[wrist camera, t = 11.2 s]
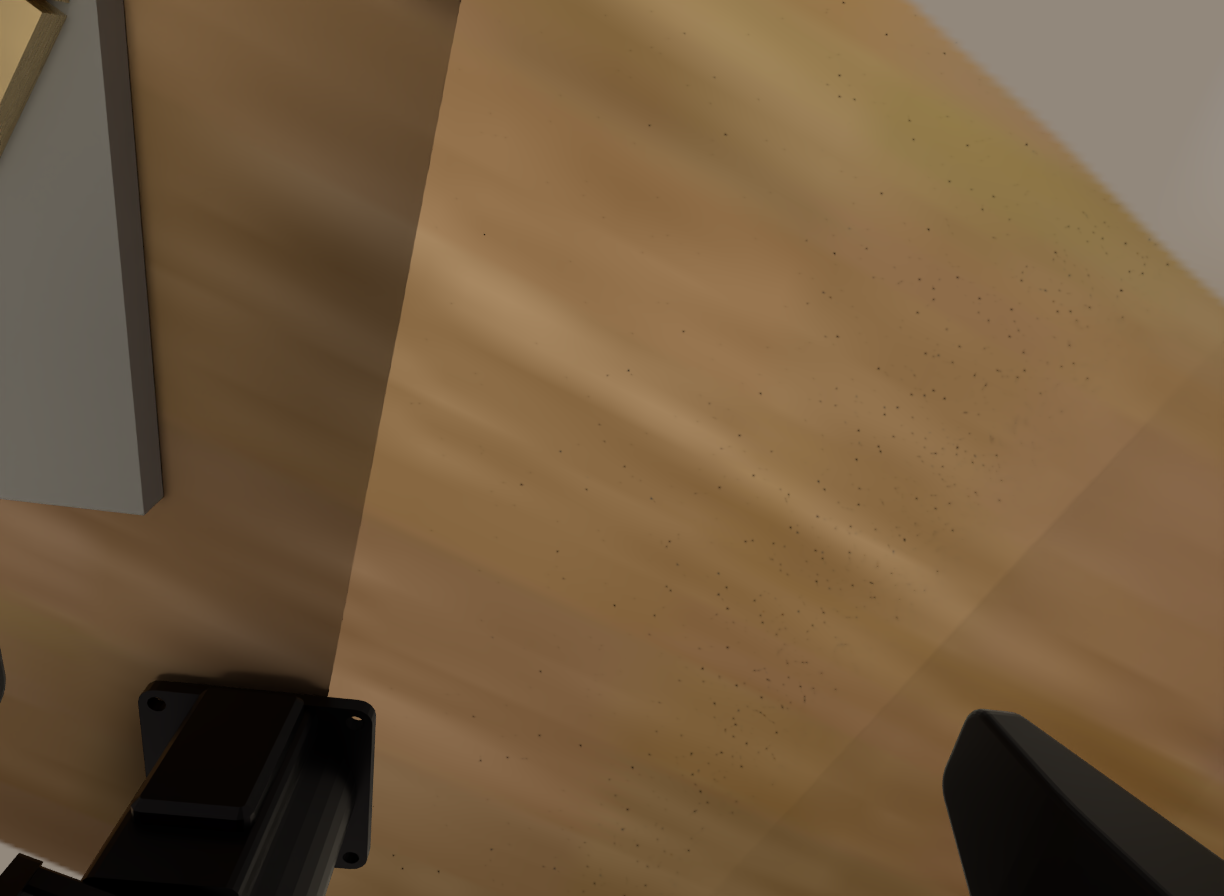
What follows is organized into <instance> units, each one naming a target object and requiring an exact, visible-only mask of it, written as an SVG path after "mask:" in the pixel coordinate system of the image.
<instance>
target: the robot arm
mask: <svg viewBox="0 0 1224 896" xmlns="http://www.w3.org/2000/svg"><path fill="white" fill-rule="evenodd" d="M5 682H6V678H5V670H4V665H3V660H2V655H1V649H0V702H1V700H2V697H3V694H4V690H5ZM156 697H158V698H161V699H162V700H163V701H160V700H158V699H157V698H156ZM164 701H165V702H164ZM138 705H139V715H140V724H141V733H142V742H143V752H144V761H145V770H146V779H145V781H144V783H143V784H142V786H141V787H140V789H139V790H138V792H137V793H136V795H135V797H134V798H133V800H132V801H131V803H130V804H129V806H128V807H127V809H126V811H125V812H124V814H123V815H122V817H121V818H120V820H119V822H118V823H117V825H116V826H115V828H114V829H113V831H112V832H111V834H110V836H109V837H108V839H107V840H106V842H105V843H104V845H103V846H102V848H101V850H100V851H99V853H98V854H97V856H96V857H95V859H94V860H93V862H92V864H91V865H90V867H89V868H88V870H87V871H86V873H85V874H84V876H83V878H82V879H81V881H80V880H78V879H75V878H72V877H69V876H67V875H64V874H61V873H58V872H55V871H53V870H50V869H47V868H45V867H42V866H41V865H42V863H43V861H40V860H37V859H34V858H32V857H29V856H26V855H24V854H21V853H19V854H18V855H17V856H16V858H15V859H14V860H13V861H12V862H11V863H10V864H9V866H8V867H7V868H6V869H5V871H4V872H3V873H2V874H1V875H0V896H325V894H326V891H327V888H328V885H329V882H330V879H331V876H332V873H333V870H334V868H345V869H357V868H360V867H362V866H363V865H364V864H365V863H366V861H367V858H368V854H369V851H370V841H371V818H372V794H373V771H374V748H375V725H376V713H375V710H374V708H373V707H372V706H371V705H370V704H368V703H367V702H364V701H360V700H353V699H343V698H332V697H322V696H312V695H302V694H292V693H282V692H272V691H262V690H251V689H241V688H231V687H221V686H211V685H201V684H191V683H181V682H170V681H154V682H152V683H150V684H149V685H148V686H147V687H146V689H145V690H144V691H143V693H142V694H141V695H140V697H139V700H138ZM354 716H356V717H359V718H361V719H362V720H355V719H353V718H352V717H354ZM942 787H943V796H944V801H945V804H946V808H947V812H948V815H949V819H950V823H951V827H952V830H953V834H954V838H955V842H956V845H957V849H958V853H959V856H960V860H961V864H962V868H963V871H964V875H965V879H966V883H967V886H968V890H969V894H970V896H1224V860H1223V859H1221V858H1220V857H1218V856H1217V855H1216V854H1214V853H1213V852H1211V851H1210V850H1209V849H1207V848H1206V847H1204V846H1203V845H1202V844H1200V843H1199V842H1197V841H1196V840H1195V839H1193V838H1192V837H1190V836H1189V835H1188V834H1186V833H1185V832H1183V831H1182V830H1181V829H1179V828H1178V827H1176V826H1175V825H1174V824H1172V823H1171V822H1169V821H1168V820H1167V819H1165V818H1164V817H1162V816H1161V815H1160V814H1158V813H1157V812H1155V811H1154V810H1153V809H1151V808H1150V807H1148V806H1147V805H1146V804H1144V803H1143V802H1141V801H1140V800H1139V799H1137V798H1136V797H1134V796H1133V795H1132V794H1130V793H1129V792H1127V791H1126V790H1125V789H1123V788H1122V787H1121V786H1119V785H1118V784H1116V783H1115V782H1114V781H1112V780H1111V779H1109V778H1108V777H1107V776H1105V775H1104V774H1102V773H1101V772H1100V771H1098V770H1097V769H1095V768H1094V767H1093V766H1091V765H1090V764H1088V763H1087V762H1086V761H1084V760H1083V759H1081V758H1080V757H1079V756H1077V755H1076V754H1074V753H1073V752H1072V751H1070V750H1069V749H1067V748H1066V747H1065V746H1063V745H1062V744H1060V743H1059V742H1058V741H1056V740H1055V739H1053V738H1052V737H1051V736H1049V735H1048V734H1046V733H1045V732H1044V731H1042V730H1041V729H1039V728H1038V727H1037V726H1035V725H1034V724H1032V723H1031V722H1030V721H1028V720H1027V719H1025V718H1024V717H1022V716H1021V715H1019V714H1016V713H1013V712H1007V711H997V710H988V709H978V710H974V711H973V712H971V713H970V714H969V715H968V716H967V718H966V720H965V722H964V724H963V727H962V729H961V732H960V734H959V736H958V739H957V741H956V743H955V746H954V748H953V751H952V753H951V755H950V758H949V760H948V762H947V765H946V767H945V770H944V774H943V785H942Z"/></svg>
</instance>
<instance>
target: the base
mask: <svg viewBox="0 0 1224 896" xmlns="http://www.w3.org/2000/svg"><path fill="white" fill-rule="evenodd" d="M46 1H48V2H49V3H51V4H52V5H53V6H55V7H56V8H57V9H59V10H60V11H61V12H63V13H64V14H66V15H67V16H68V17H67V19H66V21H65V23H64V25H63V27H62V29H61V31H60V33H59V36H58V38H57V40H56V42H55V44H54V46H53V48H52V50H51V52H50V54H49V57H48V59H47V61H46V63H45V65H44V67H43V69H42V71H41V73H40V75H39V78H38V80H37V82H36V84H35V86H34V88H33V90H32V92H31V94H30V97H29V99H28V101H27V103H26V105H25V107H24V109H23V111H22V113H21V115H20V118H19V120H18V122H17V124H16V126H15V128H14V130H13V132H12V134H11V136H10V139H9V141H8V143H7V145H6V147H5V149H4V151H3V153H2V155H1V158H0V499H6V500H15V501H23V502H32V503H41V504H49V505H58V506H67V507H75V508H84V509H93V510H102V511H110V512H119V513H128V514H136V515H145V514H146V513H147V512H148V511H149V510H150V509H151V508H152V507H153V506H154V505H155V504H156V503H158V502H159V501H160V500H161V499H162V498H163V485H162V473H161V461H160V449H159V436H158V424H157V412H156V399H155V387H154V375H153V363H152V350H151V338H150V326H149V313H148V301H147V289H146V277H145V264H144V252H143V240H142V227H141V215H140V203H139V191H138V178H137V166H136V154H135V141H134V129H133V117H132V104H131V92H130V80H129V68H128V55H127V43H126V31H125V18H124V6H123V0H69V2H70V3H66V2H60V1H54V0H46Z"/></svg>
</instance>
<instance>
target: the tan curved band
mask: <svg viewBox="0 0 1224 896" xmlns="http://www.w3.org/2000/svg"><path fill="white" fill-rule="evenodd" d="M54 1H60V2H66V3H70V2H69V0H54ZM67 17H68V16H67V15H66V14H64V13H63V12H61V11H60V10H59V9H57V8H56V7H55V6H53V5H52V4H51V3H49V2H48V1H46V0H0V158H1V155H2V153H3V151H4V149H5V147H6V145H7V143H8V141H9V139H10V136H11V134H12V132H13V130H14V128H15V126H16V124H17V122H18V120H19V118H20V115H21V113H22V111H23V109H24V107H25V105H26V103H27V101H28V99H29V97H30V94H31V92H32V90H33V88H34V86H35V84H36V82H37V80H38V78H39V75H40V73H41V71H42V69H43V67H44V65H45V63H46V61H47V59H48V57H49V54H50V52H51V50H52V48H53V46H54V44H55V42H56V40H57V38H58V36H59V33H60V31H61V29H62V27H63V25H64V23H65V21H66V19H67Z"/></svg>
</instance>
